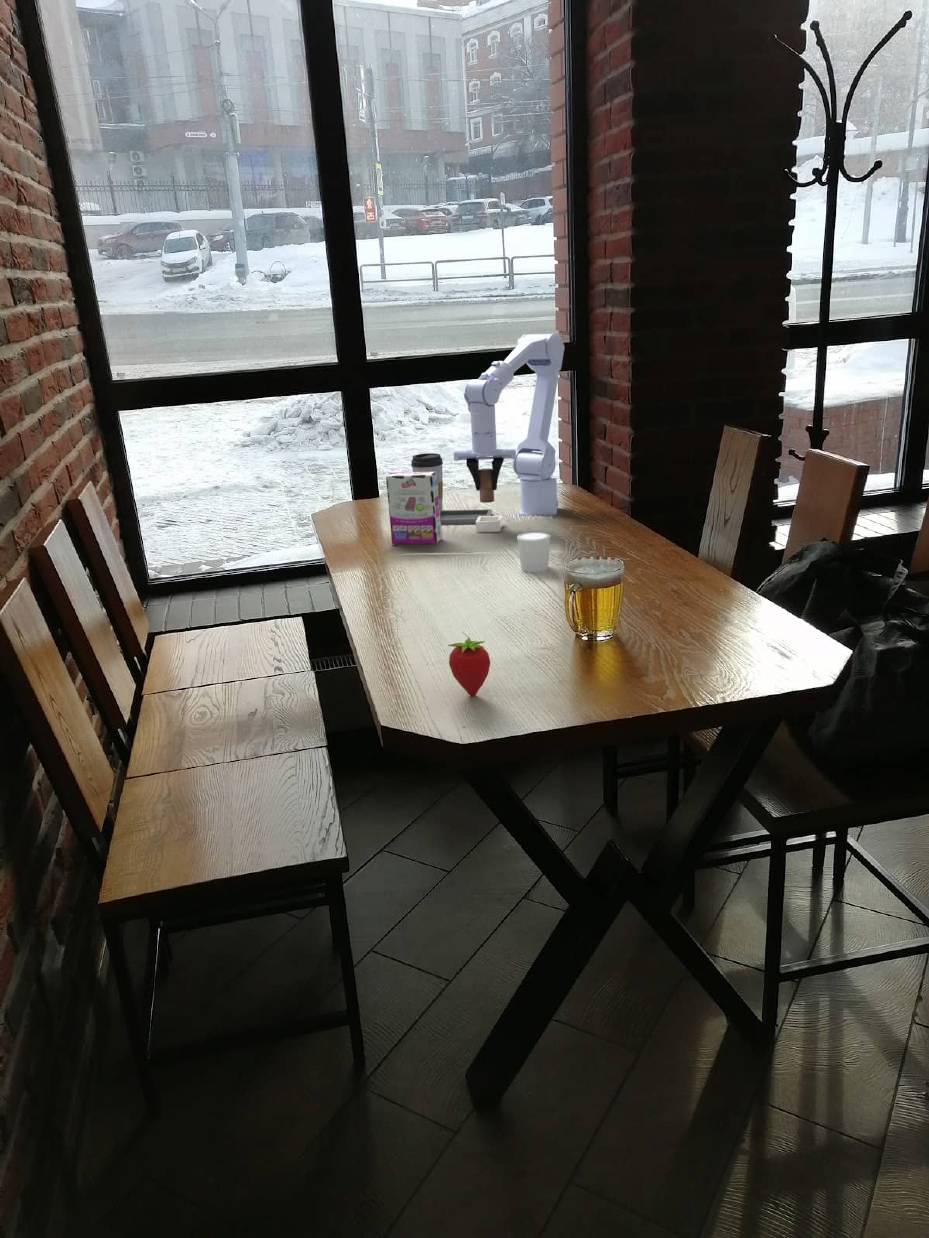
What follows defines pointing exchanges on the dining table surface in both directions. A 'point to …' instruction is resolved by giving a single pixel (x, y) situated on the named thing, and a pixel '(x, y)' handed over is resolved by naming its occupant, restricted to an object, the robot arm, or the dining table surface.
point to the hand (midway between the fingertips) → (486, 489)
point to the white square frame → (489, 524)
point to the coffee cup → (430, 468)
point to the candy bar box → (414, 507)
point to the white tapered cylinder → (534, 551)
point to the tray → (462, 516)
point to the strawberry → (469, 665)
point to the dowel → (486, 485)
